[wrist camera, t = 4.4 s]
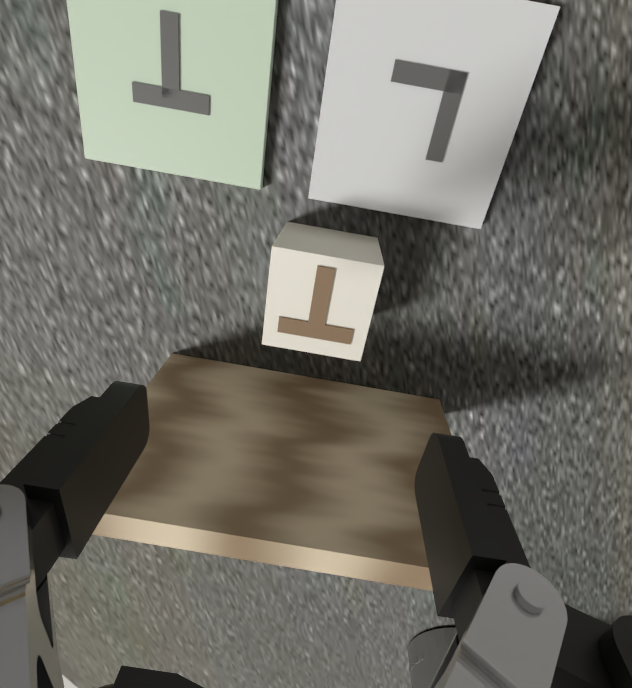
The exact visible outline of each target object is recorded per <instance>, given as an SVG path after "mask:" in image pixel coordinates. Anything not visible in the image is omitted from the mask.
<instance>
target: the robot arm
mask: <svg viewBox="0 0 632 688" xmlns="http://www.w3.org/2000/svg"><path fill="white" fill-rule="evenodd" d="M149 430H150V425H149V412H148V399H147V390H146V387H145V386H144V385H139V384H132V383H126V382H120V381H115V382H113V383H112V384H111V385H110V386H109V387H108V388H107V390H106V391H105V392H104V393H103V394H102V395H101V396H100V398H99V397H93V396H91V397H89V398H87V399H86V400H84V401H82V402H80V403H79V404H77V405H75V406H73V407H72V408H71V409H70V410H69V411H68V412H67V413H66V414H65V415H64V416H63V417H62V418H61V419H60V420H59V423H58V424H56V425H55V426H54V427H53V428H52V429H51V430H50V431H49V432H48V433H47V436H44V437H43V438H42V439H41V440H40V441H39V442H38V443H37V445H36V446H35V447H34V448H33V449H32V450H31V451H30V452H29V453H28V454H27V455H26V456H25V457H24V458H23V459H22V460H21V461H20V462H19V463H18V464H17V465H16V467H15V468H14V469H13V470H12V471H11V472H10V473H9V474H8V475H7V476H6V477H5V478H4V479H3V480H2V481H1V482H0V688H64V684H63V678H62V673H61V669H60V664H59V658H58V650H57V640H56V631H55V621H54V611H53V601H52V591H51V582H50V575H49V571H50V569H51V568H52V566H53V565H54V563H55V562H56V560H57V559H58V557H66V558H72V559H77V558H78V556H79V555H80V553H81V552H82V550H83V548H84V547H85V545H86V543H87V542H88V540H89V538H90V537H91V535H92V534H93V532H94V530H95V529H96V527H97V525H98V524H99V522H100V520H101V519H102V517H103V516H104V514H105V512H106V511H107V509H108V507H109V506H110V504H111V502H112V501H113V499H114V498H115V496H116V494H117V493H118V491H119V489H120V488H121V486H122V485H123V483H124V481H125V480H126V478H127V476H128V475H129V473H130V471H131V470H132V468H133V467H134V465H135V463H136V462H137V460H138V458H139V457H140V455H141V453H142V452H143V450H144V448H145V446H146V444H147V441H148V437H149ZM414 488H415V497H416V502H417V507H418V513H419V518H420V524H421V529H422V534H423V540H424V545H425V551H426V556H427V561H428V567H429V572H430V578H431V583H432V588H433V594H434V599H435V604H436V610H437V615H438V616H442V617H449V618H454V621H455V625H456V628H454V627H452V628H440V629H434V630H431V631H427V632H424V633H422V634H420V635H418V636H417V637H415V638H414V639H413V640H412V641H411V642H410V644H409V646H408V656H409V671H410V678H411V685H412V688H632V616H629V615H628V616H622V617H619V618H618V619H617V620H616V621H615V622H614V623H613V624H612V625H609V624H606V623H604V622H602V621H600V620H598V619H596V618H594V617H591V616H589V615H587V614H585V613H583V612H581V611H578V610H576V609H574V608H572V607H570V606H568V605H566V604H565V603H564V602H563V600H562V598H561V596H560V595H559V593H558V592H557V590H556V589H555V588H554V587H553V585H552V584H551V583H550V582H549V581H548V580H547V579H546V578H545V577H543V576H542V575H541V574H539V573H538V572H536V571H535V570H533V569H531V567H530V565H529V563H528V560H527V558H526V556H525V553H524V551H523V548H522V546H521V544H520V541H519V539H518V536H517V534H516V531H515V529H514V527H513V524H512V522H511V519H510V517H509V514H508V512H507V510H505V505H504V502H503V500H502V498H501V495H499V490H498V488H497V485H496V483H495V481H494V478H493V476H492V474H491V473H490V472H489V471H488V469H487V468H486V467H485V466H484V465H483V463H482V462H481V461H480V460H479V459H477V458H470V457H469V454H468V452H467V449H466V446H465V444H464V441H463V439H462V438H461V437H458V436H452V435H446V434H439V433H432V434H431V436H430V438H429V440H428V443H427V445H426V448H425V450H424V453H423V456H422V458H421V461H420V463H419V466H418V468H417V471H416V475H415V485H414ZM99 688H203V687H201V686H200V685H198V684H196V683H194V682H192V681H190V680H188V679H186V678H184V677H182V676H181V675H179V674H175V673H169V672H162V671H155V670H148V669H142V668H135V667H128V666H121V668H120V671H119V673H118V676H117V678H116V680H115V683H114V684H110V685H105V686H102V687H99Z"/></svg>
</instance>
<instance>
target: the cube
mask: <svg viewBox="0 0 632 688" xmlns="http://www.w3.org/2000/svg"><path fill="white" fill-rule="evenodd" d="M383 270H384V262H383V258H382V254H381V250H380V246H379V242H378V238H377V237H371V236H365V235H360V234H354V233H348V232H343V231H337V230H332V229H326V228H320V227H315V226H309V225H304V224H298V223H292V222H287V223H286V224H285V226H284V228H283V229H282V231H281V232H280V234H279V236H278V237H277V239H276V240H275V242H274V244H273V245H272V250H271V260H270V269H269V279H268V289H267V298H266V308H265V318H264V327H263V337H262V344H263V345H268V346H274V347H280V348H286V349H292V350H297V351H303V352H309V353H315V354H320V355H326V356H332V357H338V358H343V359H349V360H355V361H361V357H362V353H363V349H364V345H365V341H366V338H367V334H368V330H369V326H370V322H371V318H372V314H373V310H374V306H375V302H376V298H377V294H378V290H379V286H380V282H381V278H382V274H383Z"/></svg>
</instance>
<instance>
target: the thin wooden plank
mask: <svg viewBox="0 0 632 688" xmlns="http://www.w3.org/2000/svg"><path fill="white" fill-rule="evenodd" d="M146 390H147V399H148V412H149V425H150V430H149V437H148V441H147V444H146V446H145V448H144V450H143V452H142V453H141V455H140V457H139V458H138V460H137V462H136V463H135V465H134V467H133V468H132V470H131V471H130V473H129V475H128V476H127V478H126V480H125V481H124V483H123V485H122V486H121V488H120V489H119V491H118V493H117V494H116V496H115V498H114V499H113V501H112V502H111V504H110V506H109V507H108V509H107V511H106V512H105V514H104V516H103V517H102V519H101V520H100V522H99V524H98V525H97V527H96V529H95V530H94V532H93V534H94V535H100V536H106V537H112V538H118V539H124V540H130V541H136V542H142V543H148V544H154V545H160V546H166V547H172V548H178V549H184V550H190V551H196V552H202V553H208V554H214V555H220V556H226V557H232V558H238V559H244V560H250V561H256V562H262V563H268V564H274V565H280V566H286V567H292V568H298V569H304V570H310V571H316V572H322V573H328V574H334V575H340V576H346V577H352V578H358V579H364V580H370V581H376V582H382V583H388V584H394V585H400V586H406V587H412V588H418V589H424V590H430V591H433V588H432V583H431V578H430V572H429V567H428V561H427V556H426V551H425V545H424V540H423V534H422V529H421V524H420V518H419V513H418V507H417V502H416V497H415V488H414V485H415V475H416V471H417V468H418V466H419V463H420V461H421V458H422V456H423V453H424V450H425V448H426V445H427V443H428V440H429V438H430V436H431V434H432V433H439V434H446V435H451V433H450V430H449V427H448V424H447V421H446V418H445V415H444V412H443V409H442V406H441V402H440V399H434V398H428V397H422V396H416V395H411V394H405V393H399V392H393V391H388V390H382V389H376V388H370V387H364V386H359V385H353V384H347V383H341V382H336V381H330V380H324V379H318V378H313V377H307V376H301V375H295V374H289V373H284V372H278V371H272V370H266V369H261V368H255V367H249V366H243V365H237V364H232V363H226V362H220V361H214V360H209V359H203V358H197V357H191V356H185V355H180V354H174V353H172V354H171V356H170V357H169V358H168V359H167V361H166V362H165V363H164V365H163V366H162V367H161V369H160V370H159V371H158V373H157V374H156V375H155V376H154V378H153V379H152V380H151V382H150V383H149V384H148V386H147V387H146Z"/></svg>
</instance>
